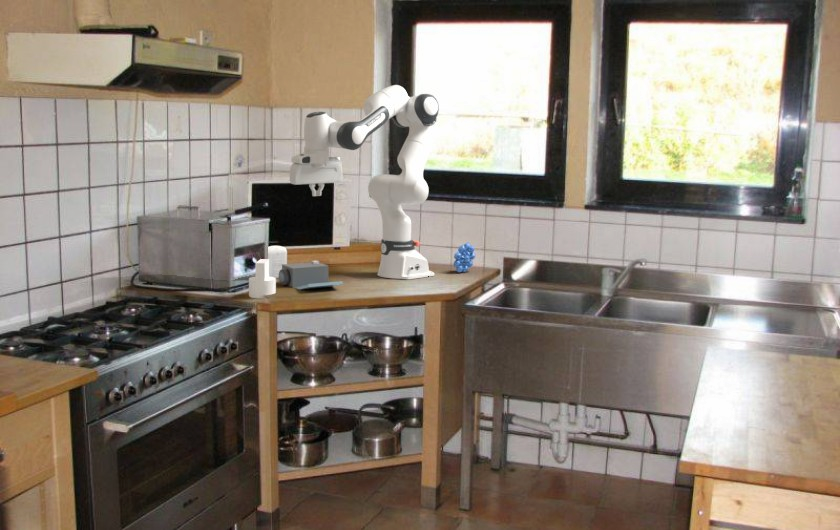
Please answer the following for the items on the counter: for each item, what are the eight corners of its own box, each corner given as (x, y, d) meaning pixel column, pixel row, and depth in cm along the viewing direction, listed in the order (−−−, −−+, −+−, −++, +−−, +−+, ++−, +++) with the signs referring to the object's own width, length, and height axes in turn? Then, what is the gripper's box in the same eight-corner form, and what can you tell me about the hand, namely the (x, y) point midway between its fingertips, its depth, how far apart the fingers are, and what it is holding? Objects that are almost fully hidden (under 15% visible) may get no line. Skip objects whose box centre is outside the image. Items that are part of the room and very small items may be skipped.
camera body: (316, 283, 339) (317, 259, 338) (328, 287, 332) (328, 263, 331) (276, 286, 331) (276, 262, 329) (286, 291, 323) (287, 266, 322)
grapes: (466, 269, 379) (467, 240, 377) (478, 272, 374) (479, 242, 372) (446, 272, 371) (447, 242, 369) (458, 274, 366) (459, 244, 364)
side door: (327, 285, 331) (342, 281, 322) (327, 287, 331) (342, 284, 322) (294, 287, 324) (308, 284, 315) (294, 290, 324) (309, 286, 315)
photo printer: (281, 276, 352) (282, 244, 350) (288, 277, 349) (288, 245, 347) (259, 279, 345) (259, 246, 343) (265, 280, 342) (265, 247, 340)
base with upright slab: (273, 299, 310) (273, 263, 308) (246, 298, 310) (246, 262, 308) (277, 293, 319) (277, 259, 317) (251, 292, 319) (251, 258, 317)
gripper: (337, 156, 341) (337, 193, 344) (287, 157, 330) (287, 196, 333) (346, 157, 336) (346, 195, 339) (295, 159, 325) (295, 198, 327)
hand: (316, 195), depth 336 cm, fingers closed
